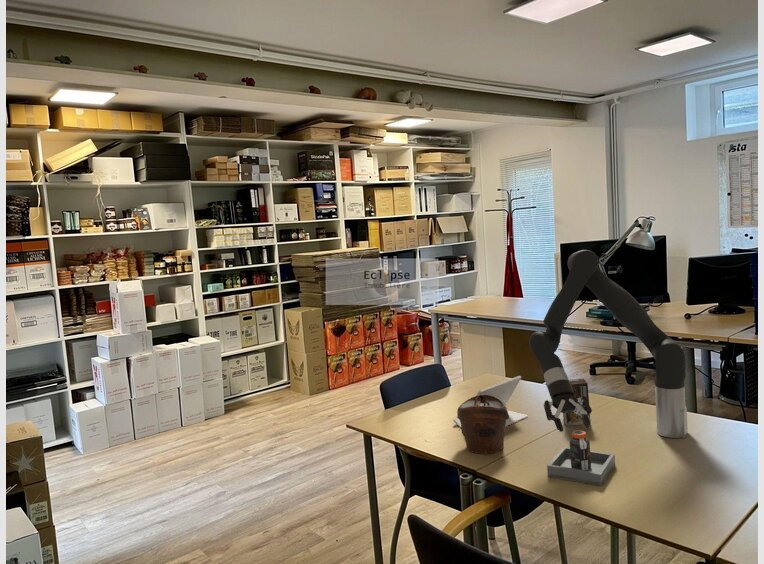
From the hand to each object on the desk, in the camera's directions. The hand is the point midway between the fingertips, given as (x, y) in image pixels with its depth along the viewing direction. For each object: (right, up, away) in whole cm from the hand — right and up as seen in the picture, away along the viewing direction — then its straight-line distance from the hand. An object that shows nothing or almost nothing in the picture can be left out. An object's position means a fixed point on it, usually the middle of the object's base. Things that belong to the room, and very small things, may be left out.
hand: (574, 429), depth 182 cm
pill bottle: (+1, -11, -2) cm, 12 cm away
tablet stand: (-17, -10, +49) cm, 52 cm away
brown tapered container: (-24, -12, +23) cm, 36 cm away
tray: (+1, -12, -3) cm, 13 cm away
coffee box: (+14, -7, +39) cm, 42 cm away
